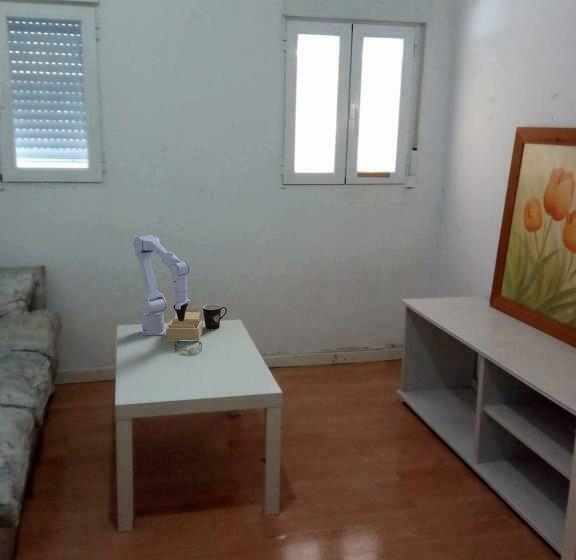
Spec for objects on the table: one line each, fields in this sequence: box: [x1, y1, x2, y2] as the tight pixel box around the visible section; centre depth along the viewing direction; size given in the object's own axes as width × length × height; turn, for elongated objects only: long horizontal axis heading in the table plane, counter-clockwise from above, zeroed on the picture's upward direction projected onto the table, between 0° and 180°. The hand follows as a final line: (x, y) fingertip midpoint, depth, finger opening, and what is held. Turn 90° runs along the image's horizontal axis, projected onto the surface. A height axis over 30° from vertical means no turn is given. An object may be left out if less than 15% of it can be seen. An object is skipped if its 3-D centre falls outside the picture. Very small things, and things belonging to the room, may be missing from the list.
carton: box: [165, 319, 204, 343], centre depth 281 cm, size 14×12×6 cm
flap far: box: [173, 311, 201, 320], centre depth 287 cm, size 5×11×1 cm, turn 90°
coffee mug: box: [202, 303, 228, 331], centre depth 294 cm, size 12×9×10 cm
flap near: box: [167, 324, 195, 328], centre depth 272 cm, size 5×11×1 cm, turn 89°
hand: (181, 320), depth 272 cm, fingers closed
